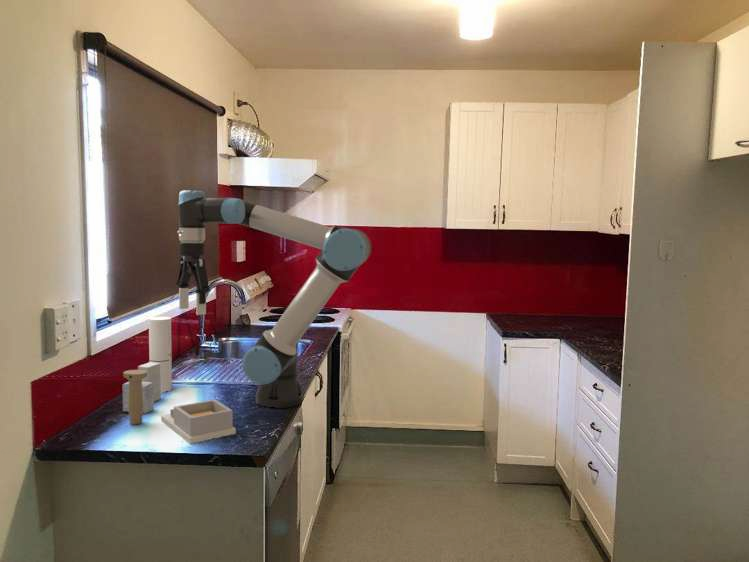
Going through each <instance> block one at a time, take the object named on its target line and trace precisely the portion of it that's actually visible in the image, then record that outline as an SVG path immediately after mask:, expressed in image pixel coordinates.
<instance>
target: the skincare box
mask: <svg viewBox="0 0 749 562" xmlns="http://www.w3.org/2000/svg"><path fill="white" fill-rule="evenodd" d="M137 370H144V371H147V376H146V377H145V378H143V379H142V382H152V383H153V401H154V402H156V401H158V400H160V398H162V393H161V380H160V363H153V362H149V361H148V362H147V363H144V364H140V365H138V366H137Z"/></svg>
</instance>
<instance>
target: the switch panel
mask: <svg viewBox="0 0 749 562" xmlns="http://www.w3.org/2000/svg"><path fill="white" fill-rule="evenodd" d="M206 411H212V412H214V413H209V414H204V415H198V416H193V417H192V416H191V415H190V414H195V413H200V412H206ZM233 411H234V410H233V409H231V408H229V407H228V406H227V405H225V404H223V403H221V402H219V401H218V400H216V399H209V400H204V401H198V402H194V403H193V402H191V403H187V404H186V403H185V404H181V405H177V406H176V405H175V406H173V408H171V409H170V411H169V412H170V413H168V414H163V415H160V420H161V422H162V423H163V424H164V425H166V426H168V428H169V429H171V430H172V431H174V433H176V434H177V435H179V436H180V437H181V438H182V439H183V440H185V441H186V442H187V443H188V444H190V445H191V444H195V443H200V442H204V441H210V440H213V438H214V439H218V438H222V436H223V437H225V436H226V437H227V436H232V435H236V434H237V433H236V432H237V429H236V427H235V426H233V415H234V414H233Z"/></svg>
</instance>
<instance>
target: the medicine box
mask: <svg viewBox="0 0 749 562" xmlns="http://www.w3.org/2000/svg"><path fill="white" fill-rule="evenodd" d="M142 395H143V414H147V413H149V412H151V411H153V410H154V409H155V408H154V407H155V404H154V402H155V401H153V383H152V382H142ZM128 400H129V381H127V382H124V383H123V384H122V412H128V413H129V410H128V409H129V408H128Z"/></svg>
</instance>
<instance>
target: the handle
mask: <svg viewBox="0 0 749 562" xmlns="http://www.w3.org/2000/svg"><path fill="white" fill-rule="evenodd" d="M122 374H123V378H125V379H126V380H128V382H129V400H128V408H129V409H128V410H129V412H128V417H129V423H130V424H131V425H140V424H142V423H143V414H144V413H143V395H142V379H143V378H145V377H146V376H147V371H144V370H138V369H129V370H124V371H123V373H122Z"/></svg>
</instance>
